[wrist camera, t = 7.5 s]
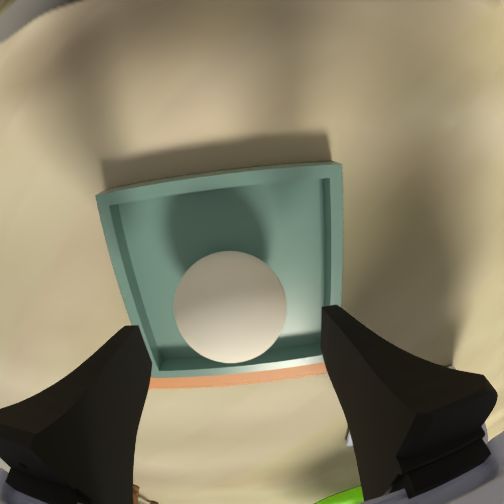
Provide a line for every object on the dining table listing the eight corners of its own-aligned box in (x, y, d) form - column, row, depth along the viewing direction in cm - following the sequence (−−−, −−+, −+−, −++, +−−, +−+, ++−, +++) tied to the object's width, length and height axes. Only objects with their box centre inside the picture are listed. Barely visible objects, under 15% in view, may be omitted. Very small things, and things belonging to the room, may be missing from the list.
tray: (332, 160, 14) (342, 164, 13) (330, 345, 18) (336, 359, 17) (106, 189, 14) (95, 195, 12) (156, 363, 18) (152, 378, 17)
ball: (275, 230, 15) (295, 275, 10) (280, 315, 17) (296, 379, 12) (173, 241, 15) (150, 290, 10) (191, 324, 17) (181, 389, 12)
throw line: (349, 355, 19) (350, 355, 19) (348, 367, 19) (348, 368, 19) (93, 375, 18) (93, 376, 18) (100, 386, 19) (99, 387, 19)
